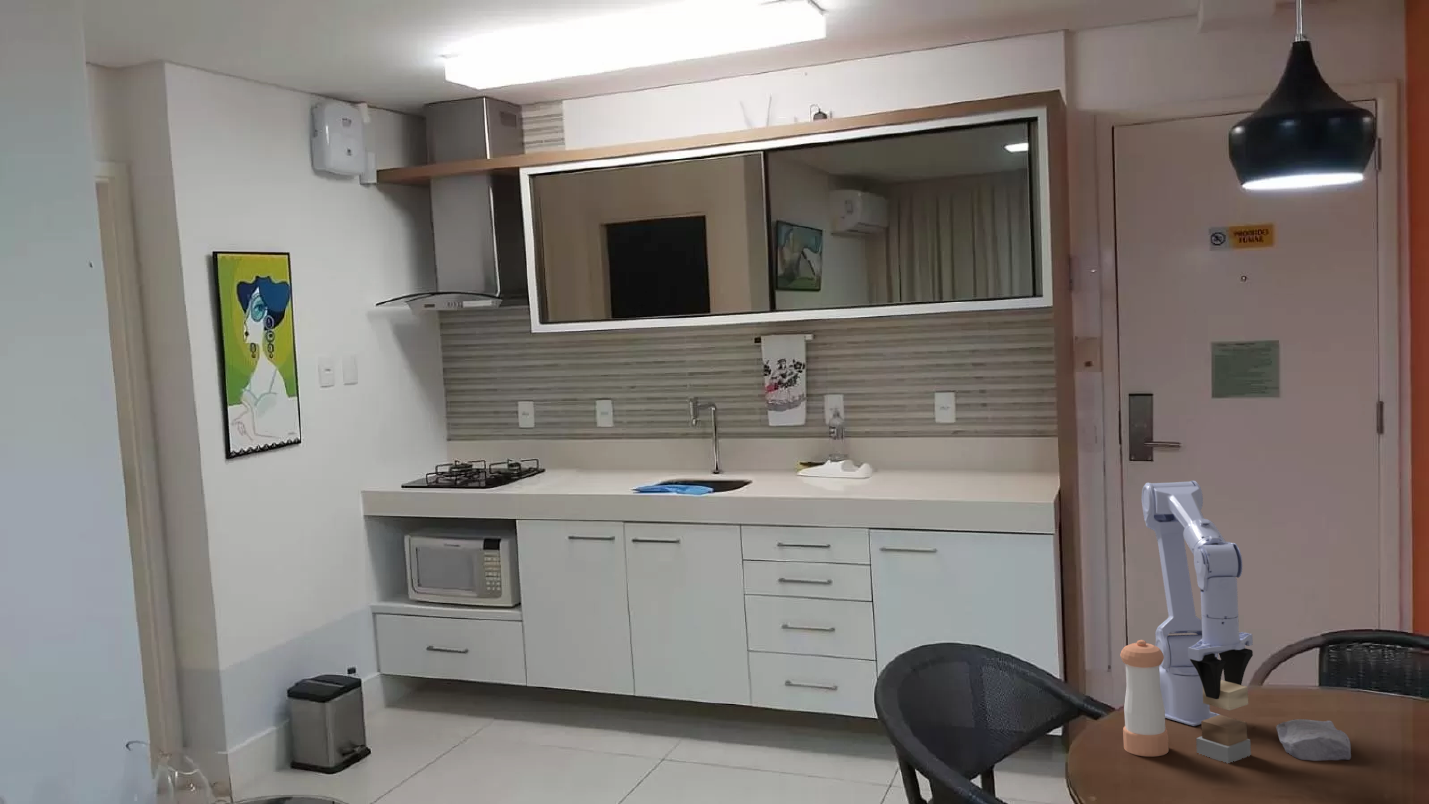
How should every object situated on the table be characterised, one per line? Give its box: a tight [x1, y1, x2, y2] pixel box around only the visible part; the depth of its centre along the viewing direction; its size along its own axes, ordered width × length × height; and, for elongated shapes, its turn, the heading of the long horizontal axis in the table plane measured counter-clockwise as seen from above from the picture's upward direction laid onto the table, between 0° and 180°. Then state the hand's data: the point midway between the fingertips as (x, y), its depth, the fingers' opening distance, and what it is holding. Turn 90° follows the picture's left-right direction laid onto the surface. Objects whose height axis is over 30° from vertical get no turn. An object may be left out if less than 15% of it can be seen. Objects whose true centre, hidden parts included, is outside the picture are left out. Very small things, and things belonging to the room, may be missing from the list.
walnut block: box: [1200, 714, 1248, 746], centre depth 189 cm, size 5×5×3 cm
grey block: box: [1195, 735, 1252, 764], centre depth 189 cm, size 6×6×3 cm
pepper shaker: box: [1119, 639, 1170, 758], centre depth 193 cm, size 7×7×19 cm
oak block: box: [1202, 679, 1249, 711], centre depth 188 cm, size 5×5×3 cm
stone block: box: [1275, 718, 1352, 762], centre depth 190 cm, size 12×5×10 cm
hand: (1222, 694), depth 189 cm, fingers closed on oak block, 5 cm apart
